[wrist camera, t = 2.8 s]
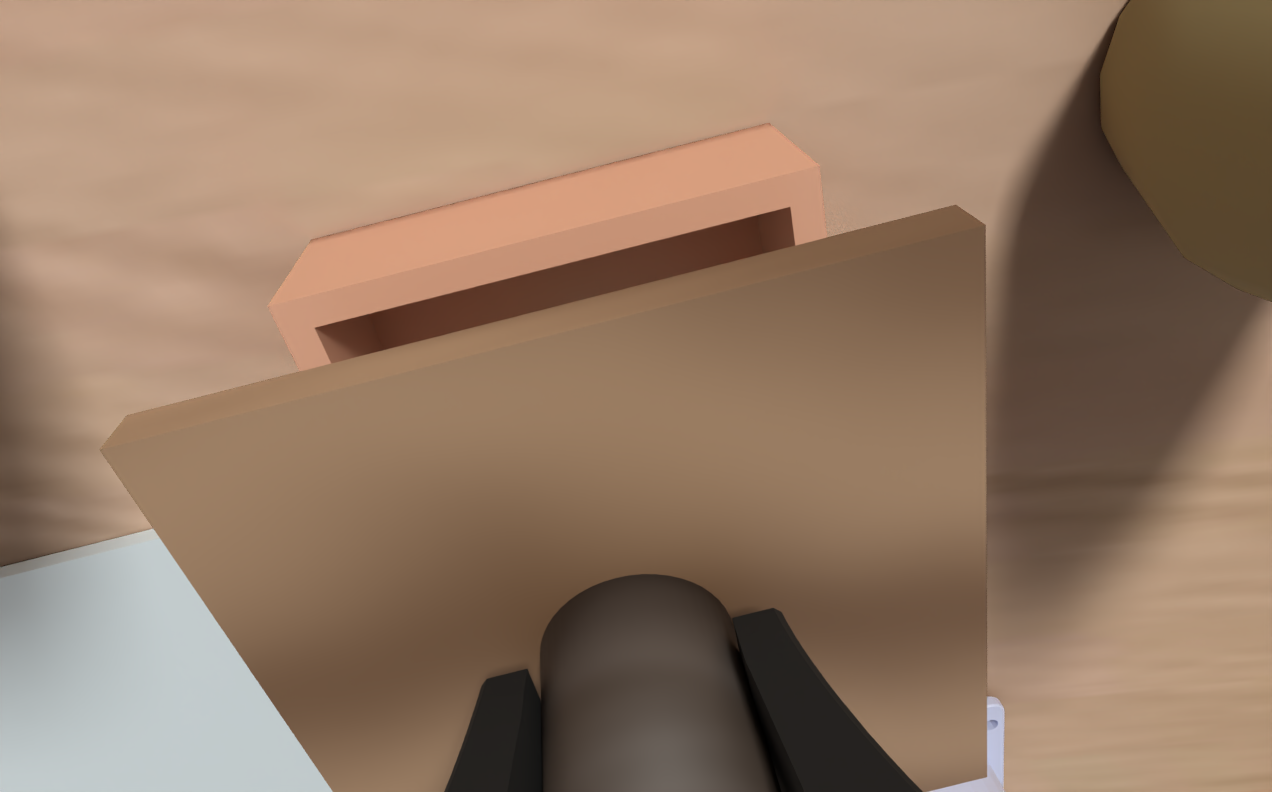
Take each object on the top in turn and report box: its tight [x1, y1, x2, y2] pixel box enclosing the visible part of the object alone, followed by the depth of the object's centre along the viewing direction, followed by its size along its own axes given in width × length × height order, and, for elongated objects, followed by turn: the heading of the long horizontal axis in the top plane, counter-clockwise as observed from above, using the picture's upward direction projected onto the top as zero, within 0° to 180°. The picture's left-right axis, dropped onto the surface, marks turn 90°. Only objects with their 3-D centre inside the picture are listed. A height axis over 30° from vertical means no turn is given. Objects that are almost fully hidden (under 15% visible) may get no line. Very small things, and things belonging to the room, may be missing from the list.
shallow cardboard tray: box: [268, 123, 827, 371], centre depth 19 cm, size 10×10×4 cm
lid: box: [100, 205, 987, 792], centre depth 12 cm, size 11×11×4 cm
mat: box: [0, 529, 333, 792], centre depth 25 cm, size 16×16×1 cm
